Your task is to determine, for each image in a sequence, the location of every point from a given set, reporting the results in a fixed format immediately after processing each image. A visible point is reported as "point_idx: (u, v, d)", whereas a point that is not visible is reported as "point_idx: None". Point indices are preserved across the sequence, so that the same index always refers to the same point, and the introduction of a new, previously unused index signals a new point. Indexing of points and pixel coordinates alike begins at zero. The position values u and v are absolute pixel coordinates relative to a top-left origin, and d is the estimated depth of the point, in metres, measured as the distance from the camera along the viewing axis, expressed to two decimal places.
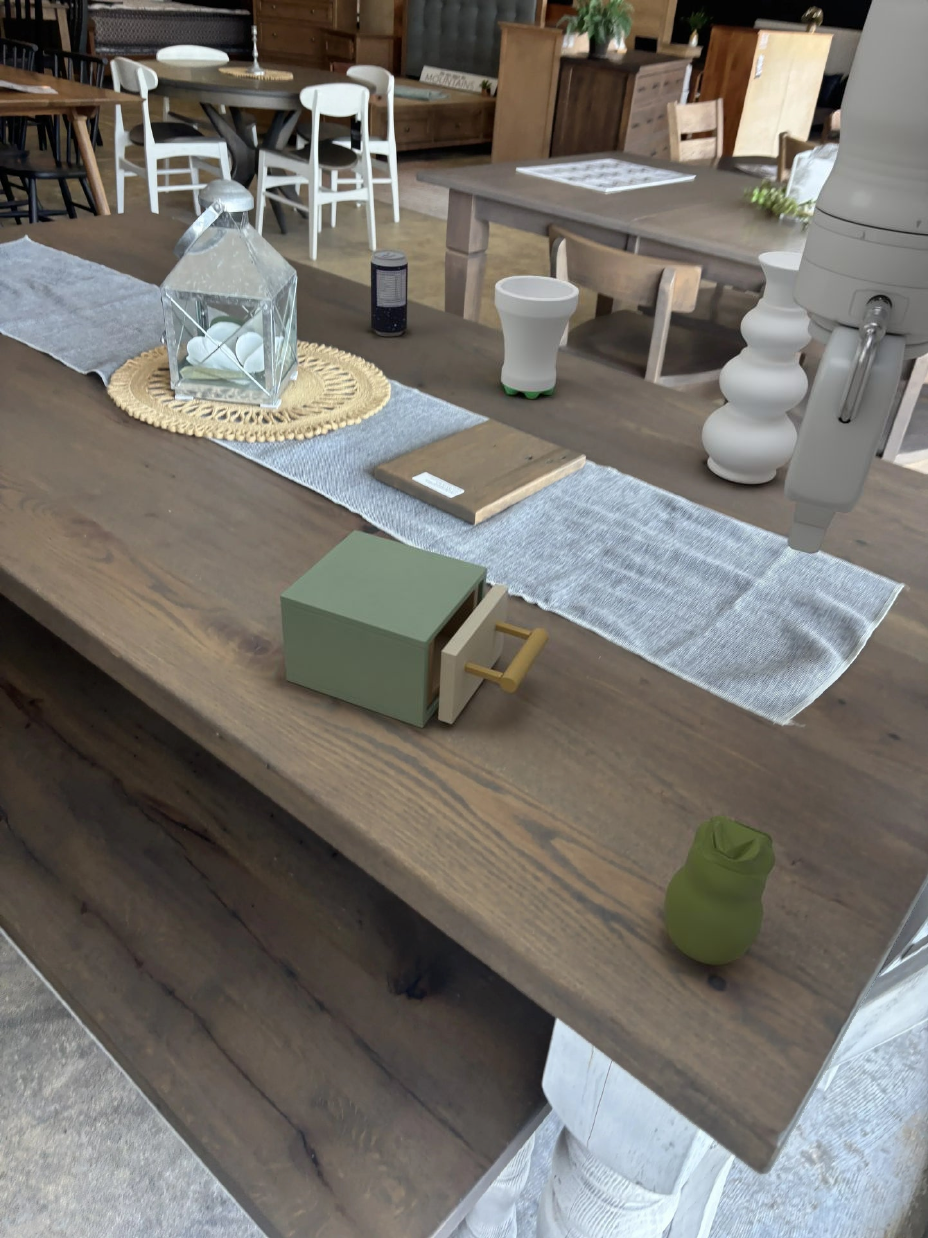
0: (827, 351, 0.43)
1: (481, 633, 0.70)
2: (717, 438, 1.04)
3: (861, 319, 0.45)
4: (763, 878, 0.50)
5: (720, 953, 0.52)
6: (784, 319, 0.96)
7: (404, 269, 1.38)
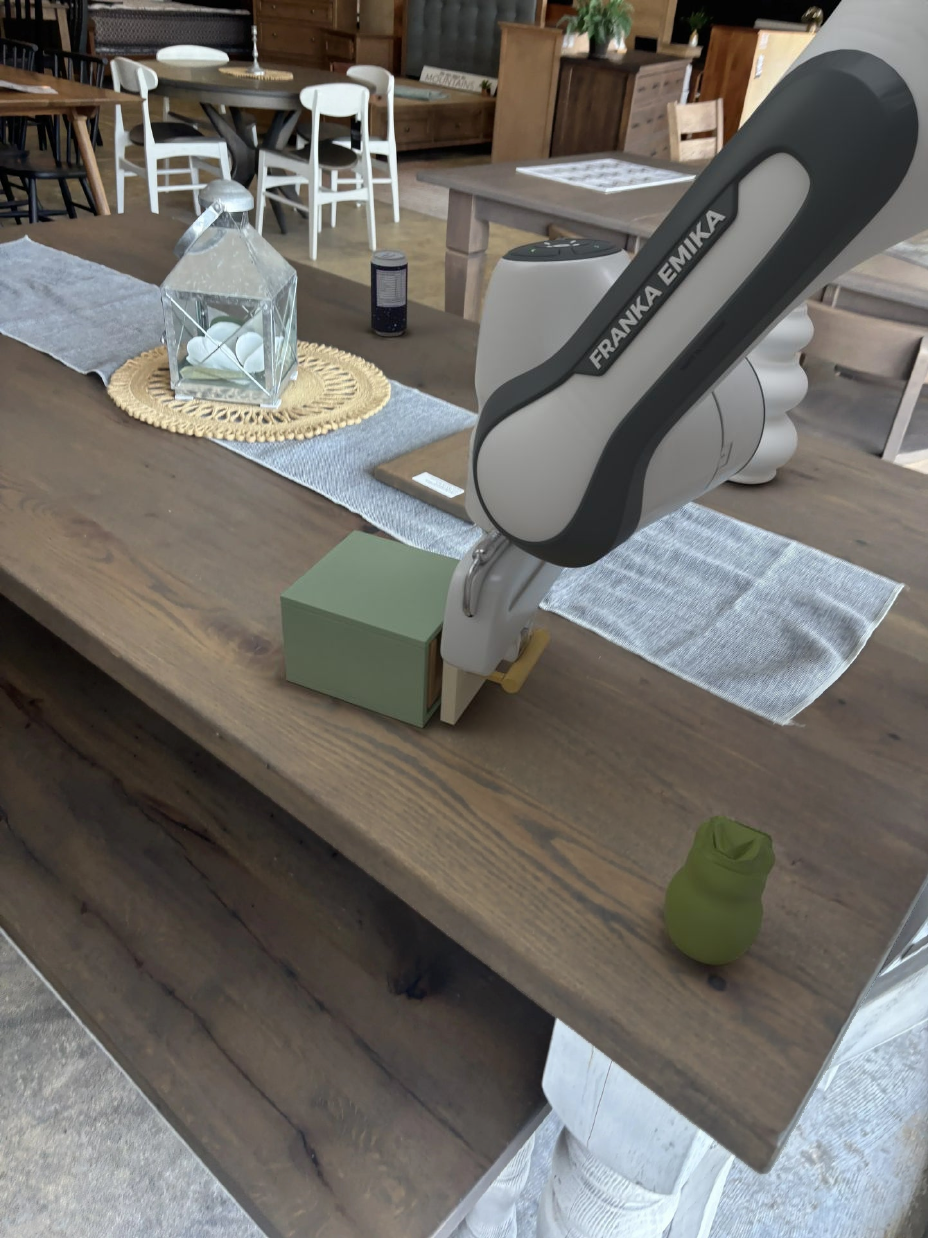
0: (459, 562, 0.57)
1: None
2: None
3: None
4: (763, 878, 0.50)
5: (720, 953, 0.52)
6: (784, 319, 0.96)
7: (404, 269, 1.38)
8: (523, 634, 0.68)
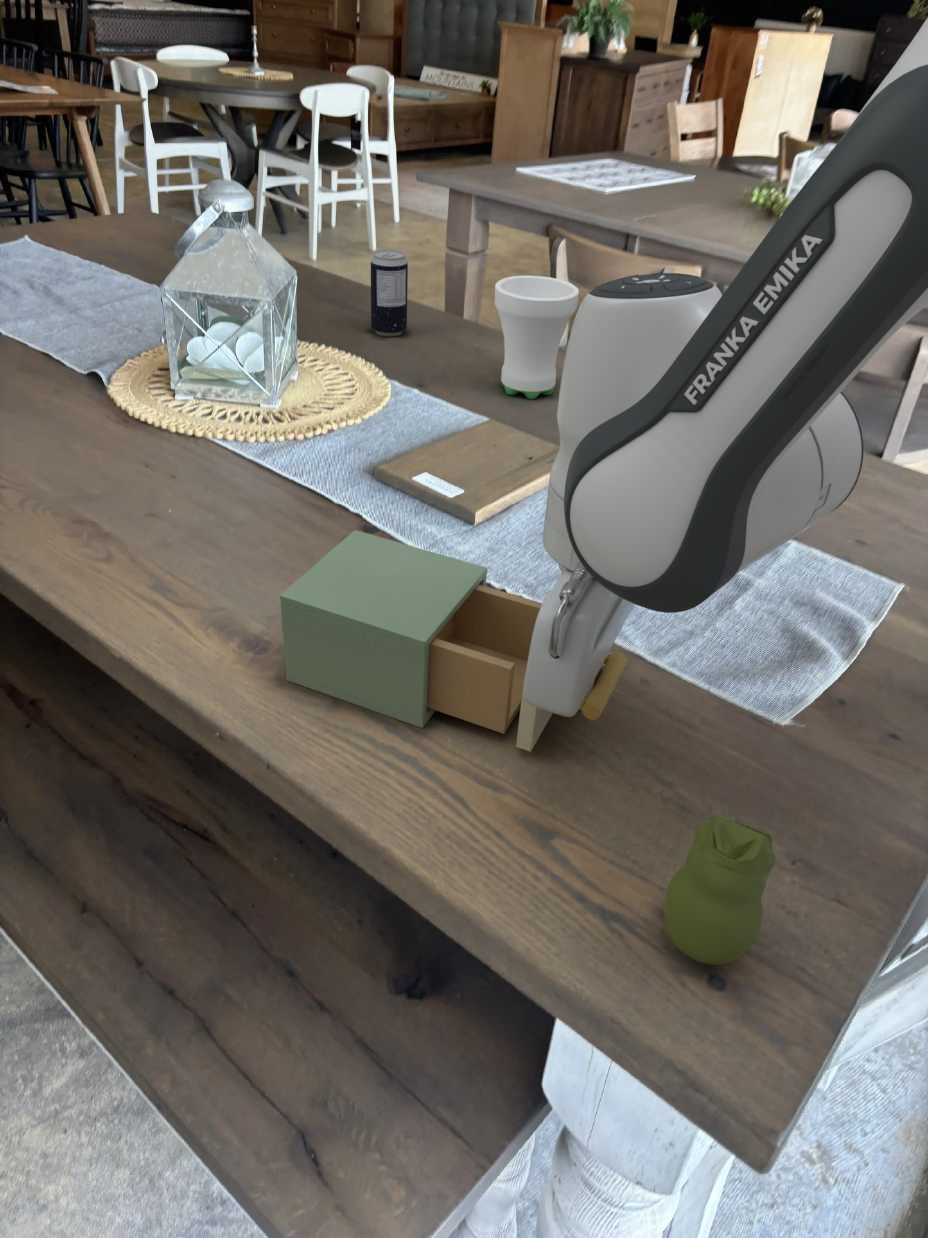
0: (544, 601, 0.56)
1: None
2: None
3: None
4: (763, 878, 0.50)
5: (720, 953, 0.52)
6: None
7: (404, 269, 1.38)
8: None
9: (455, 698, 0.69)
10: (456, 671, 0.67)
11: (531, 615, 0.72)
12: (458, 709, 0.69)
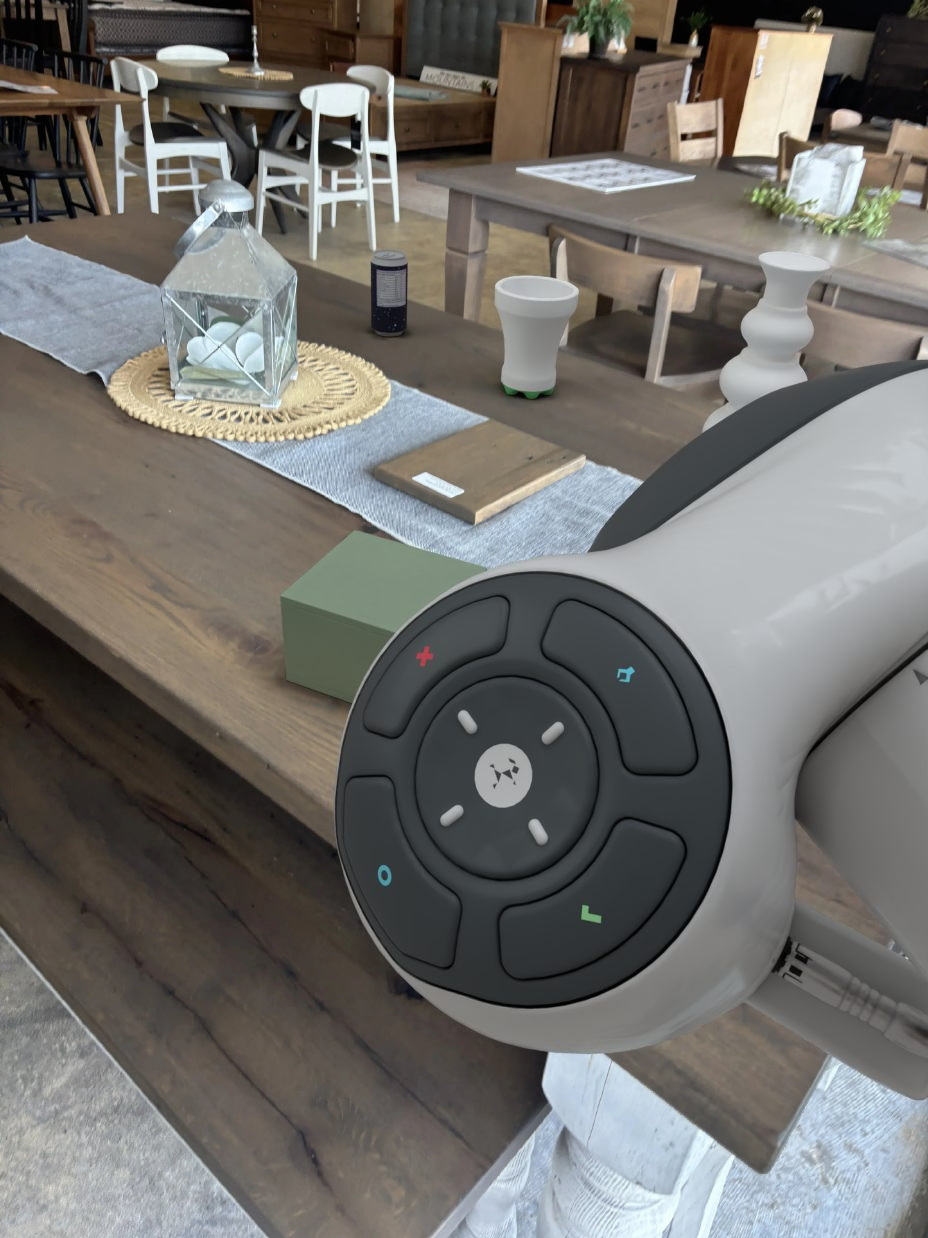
0: (872, 1074, 0.26)
1: None
2: None
3: (771, 972, 0.27)
4: None
5: None
6: (784, 319, 0.96)
7: (404, 269, 1.38)
8: None
9: None
10: None
11: None
12: None
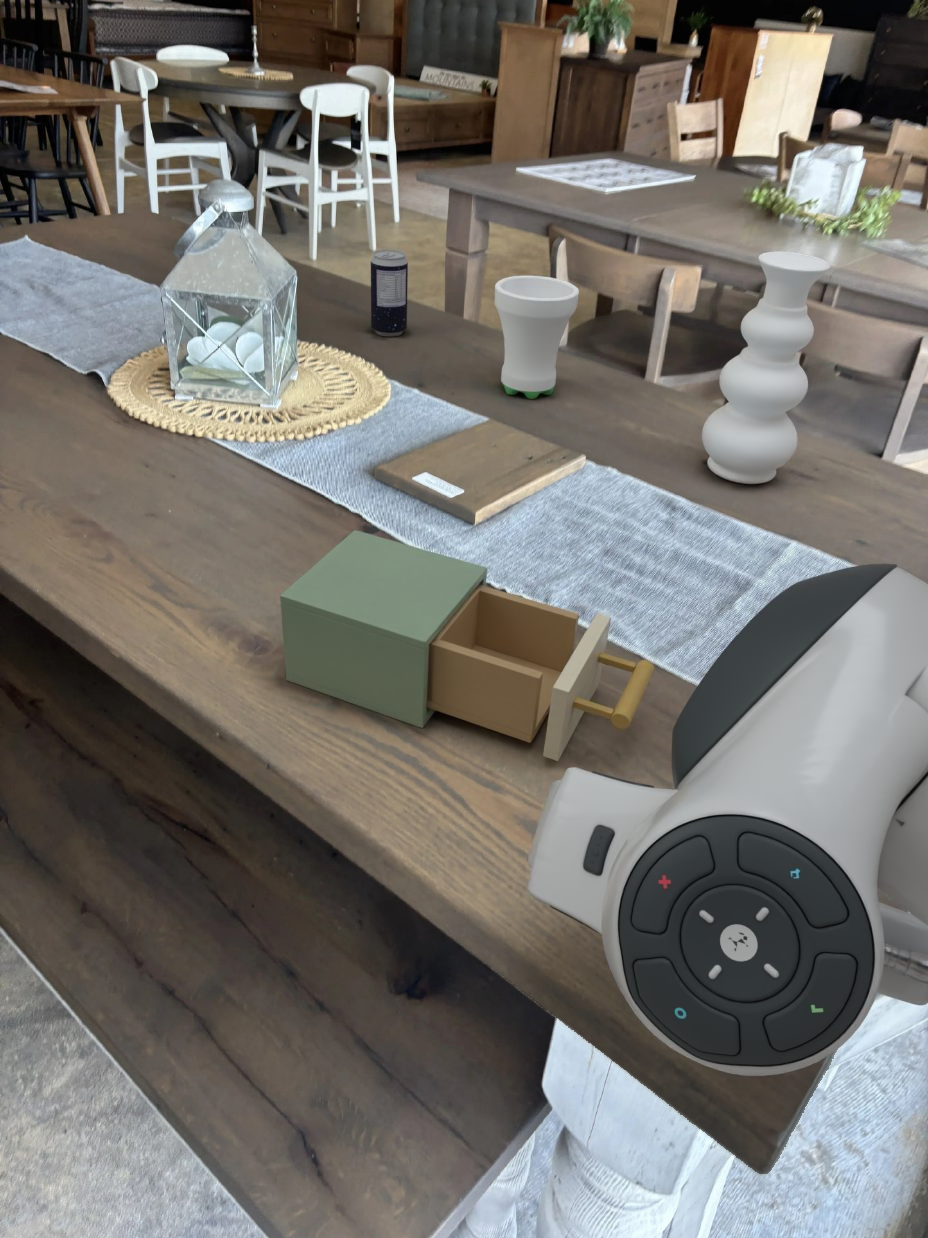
0: (896, 997, 0.39)
1: (588, 666, 0.67)
2: (717, 438, 1.04)
3: None
4: None
5: None
6: (784, 319, 0.96)
7: (404, 269, 1.38)
8: None
9: (481, 707, 0.68)
10: (483, 680, 0.66)
11: (557, 623, 0.71)
12: (484, 718, 0.68)
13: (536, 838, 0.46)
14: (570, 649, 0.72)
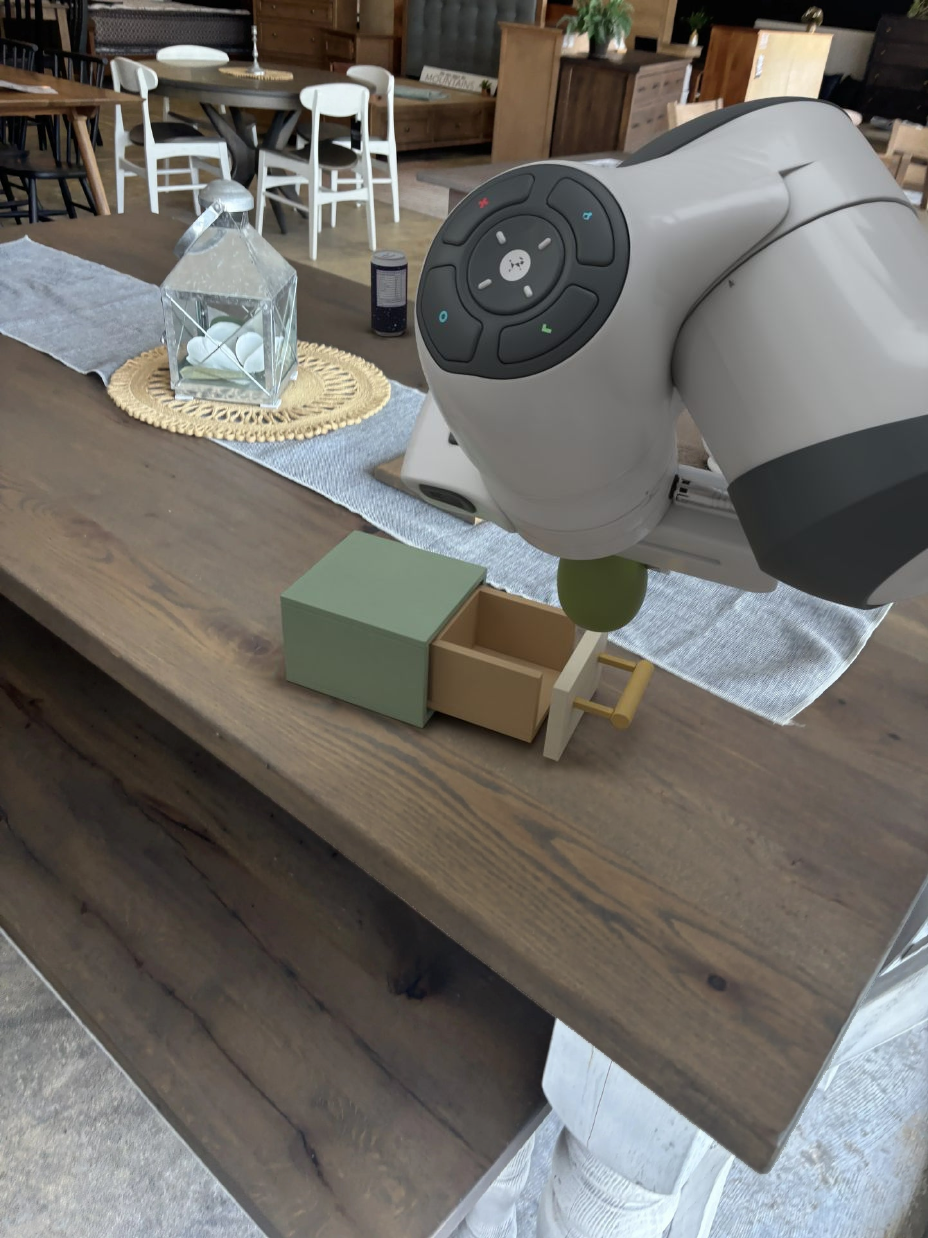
0: (737, 548, 0.42)
1: (588, 666, 0.67)
2: None
3: (669, 503, 0.42)
4: None
5: (606, 610, 0.54)
6: None
7: (404, 269, 1.38)
8: None
9: (481, 707, 0.68)
10: (483, 680, 0.66)
11: (557, 623, 0.71)
12: (484, 718, 0.68)
13: None
14: (570, 649, 0.72)
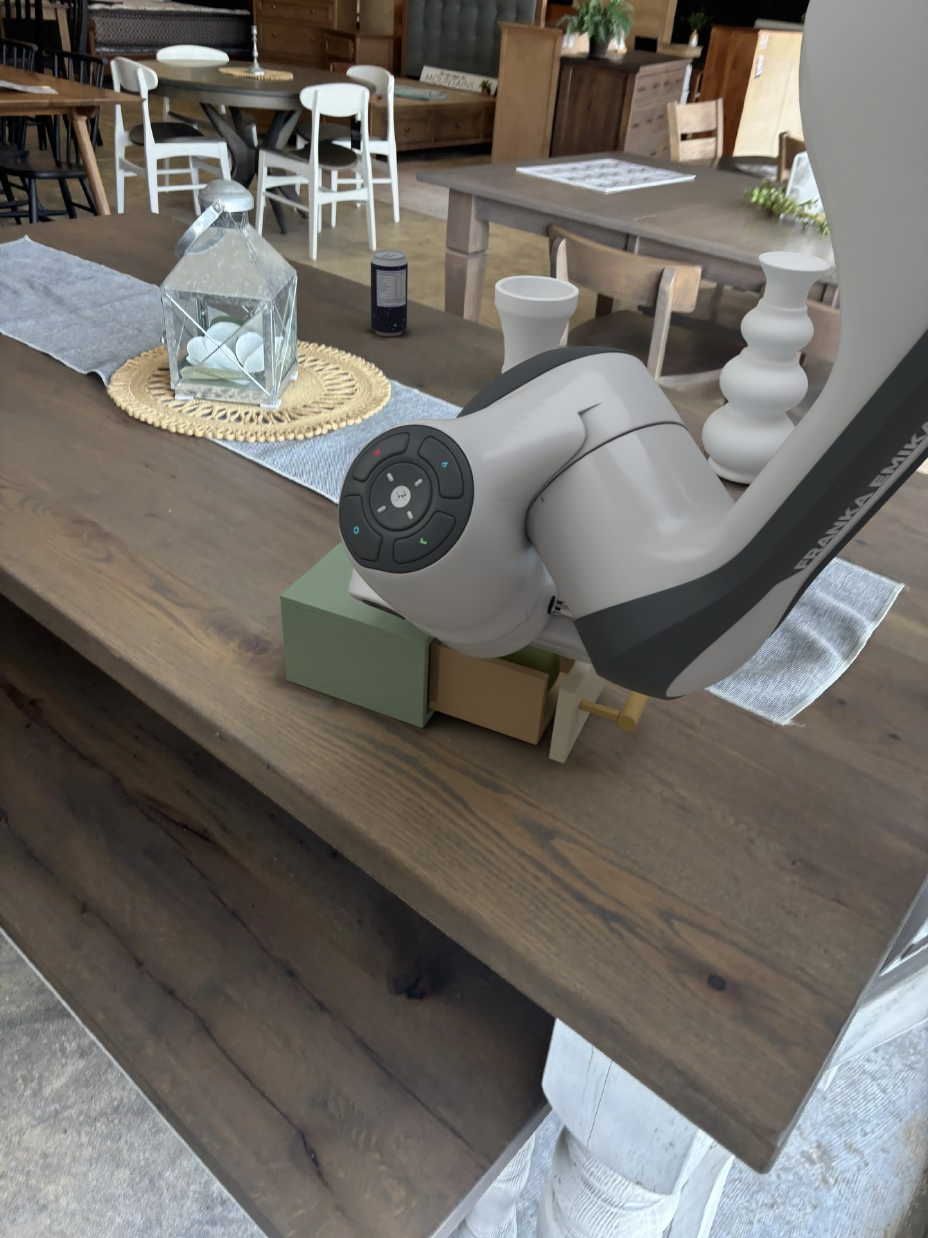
0: None
1: None
2: (717, 438, 1.04)
3: (549, 616, 0.56)
4: None
5: None
6: (784, 319, 0.96)
7: (404, 269, 1.38)
8: None
9: (487, 709, 0.68)
10: (489, 682, 0.66)
11: None
12: (490, 720, 0.68)
13: None
14: None
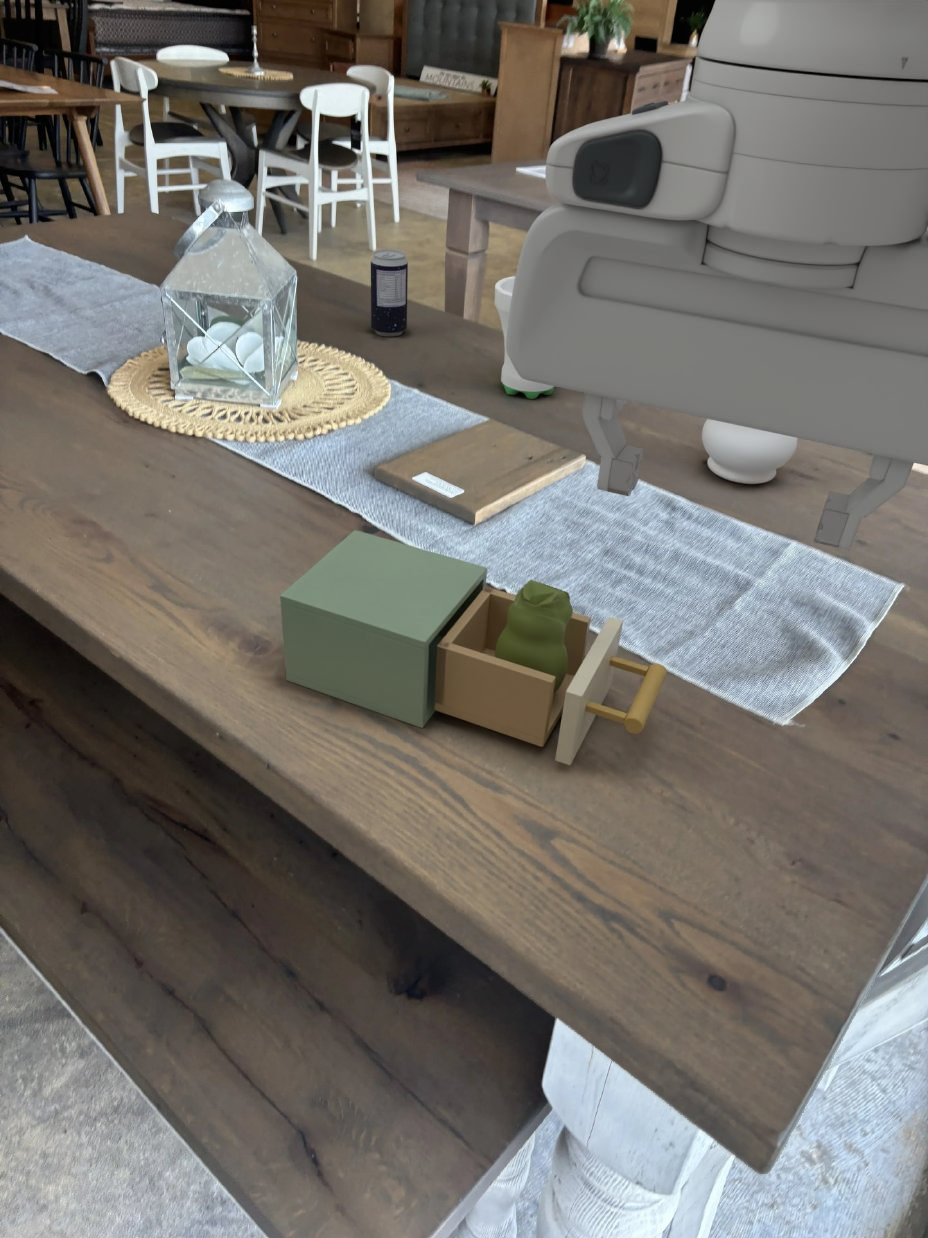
0: None
1: (600, 670, 0.67)
2: (717, 438, 1.04)
3: None
4: (560, 622, 0.66)
5: None
6: None
7: (404, 269, 1.38)
8: (643, 449, 0.40)
9: (493, 711, 0.68)
10: (495, 684, 0.66)
11: (568, 626, 0.71)
12: (496, 722, 0.68)
13: None
14: (581, 653, 0.72)
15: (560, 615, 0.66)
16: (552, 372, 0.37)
